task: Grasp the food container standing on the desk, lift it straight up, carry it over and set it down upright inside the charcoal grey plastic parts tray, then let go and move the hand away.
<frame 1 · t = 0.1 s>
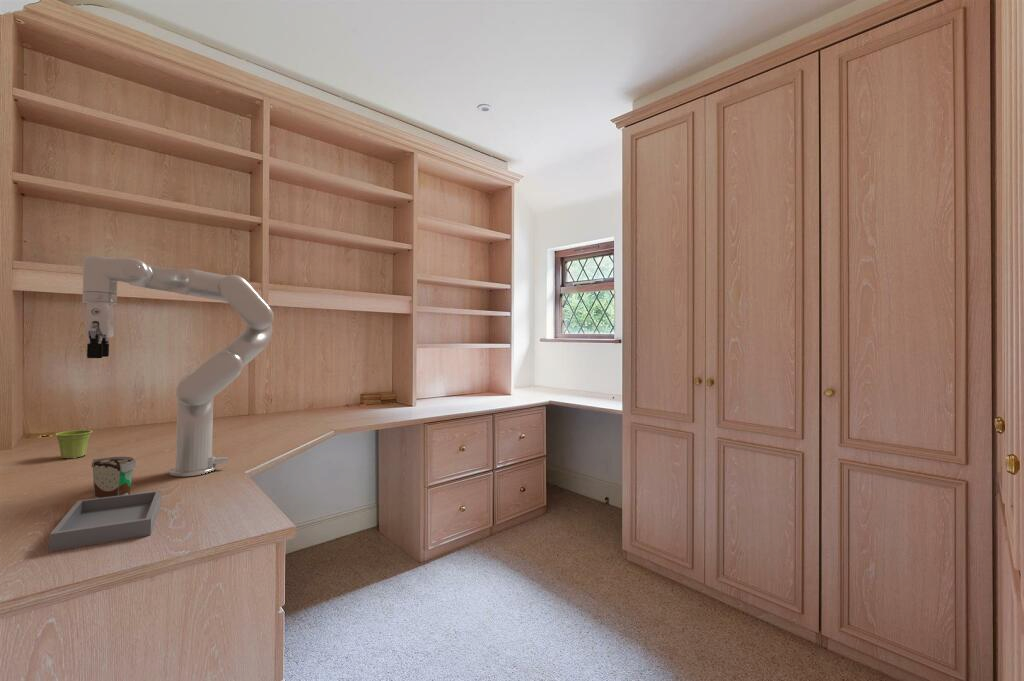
hand: (98, 357, 134), 37 cm above the table, tool pointing down, fingers open, 9 cm apart
food container: (118, 497, 124), on the table
plant pot: (73, 457, 161), on the table
parts tray: (112, 524, 105), on the table
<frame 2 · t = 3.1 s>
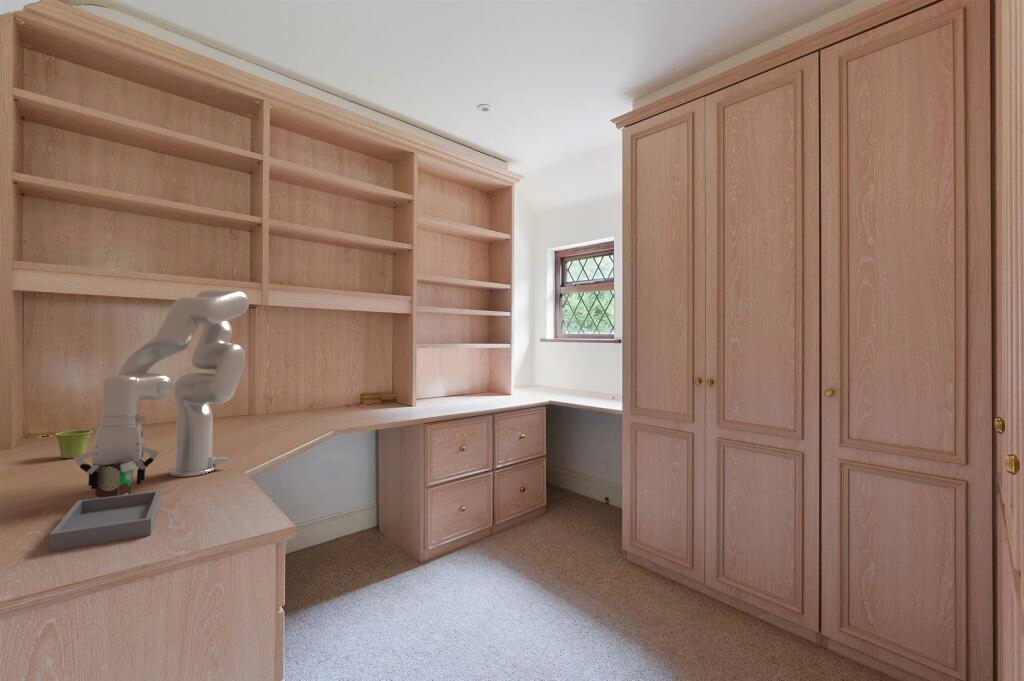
hand: (117, 485, 123), 3 cm above the table, tool pointing down, fingers open, 8 cm apart
food container: (119, 496, 124), on the table, touching gripper
everything else where it was.
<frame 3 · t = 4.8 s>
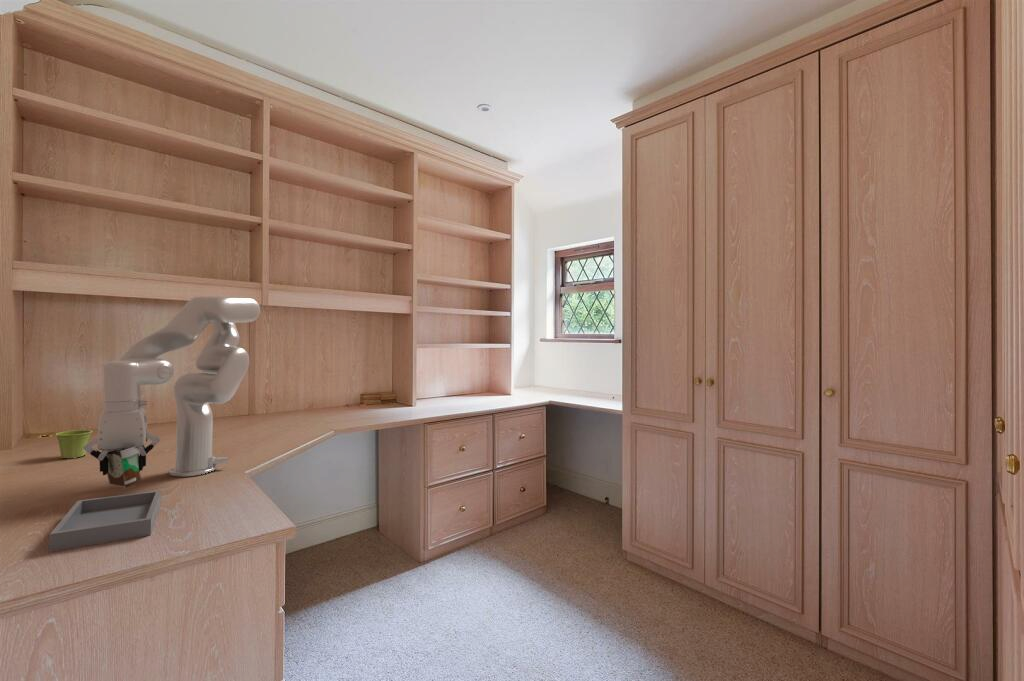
hand: (123, 470, 125), 7 cm above the table, tool pointing down, fingers closed on food container, 6 cm apart
food container: (131, 482, 126), point 3 cm above the table, touching gripper
everything else where it was.
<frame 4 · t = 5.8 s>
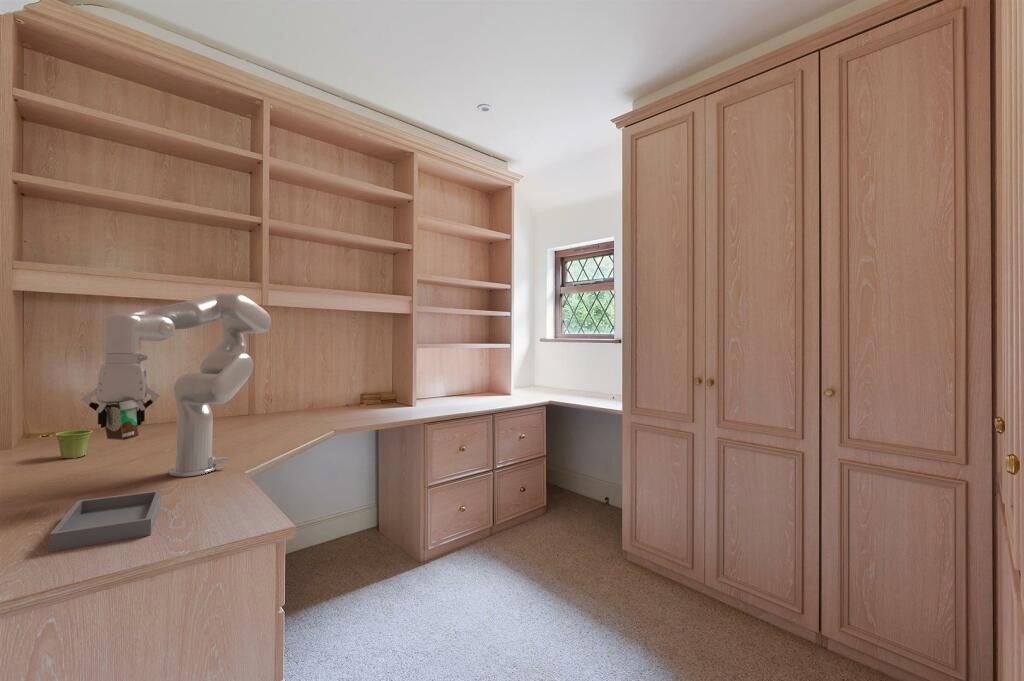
hand: (121, 425, 124), 19 cm above the table, tool pointing down, fingers closed on food container, 6 cm apart
food container: (128, 437, 125), point 16 cm above the table, touching gripper
everything else where it was.
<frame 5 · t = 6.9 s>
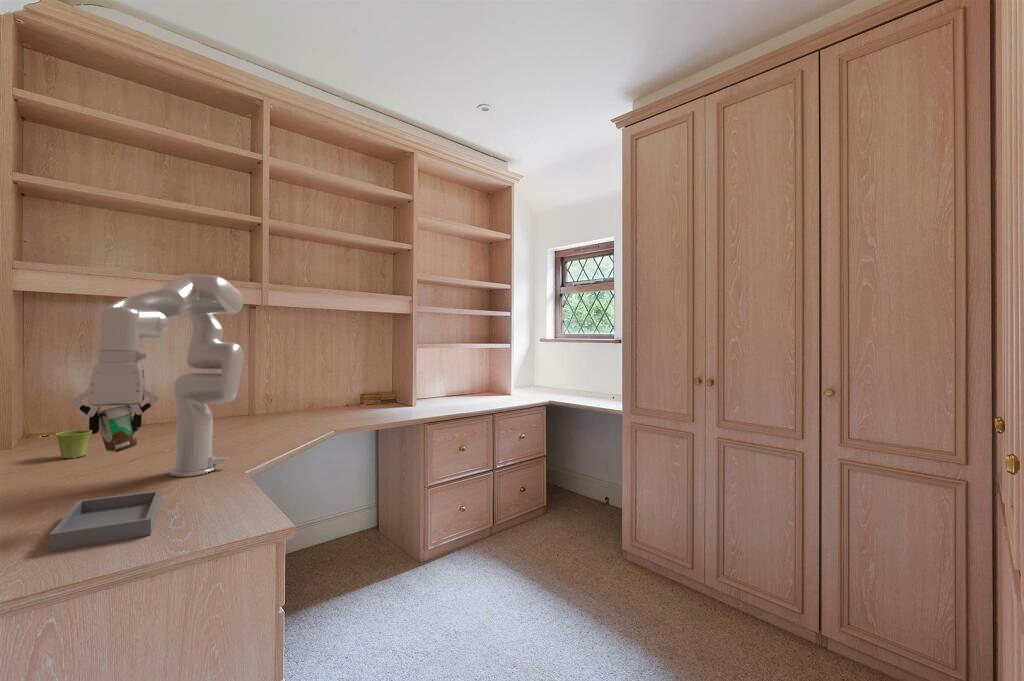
hand: (115, 431, 111), 20 cm above the table, tool pointing down, fingers closed on food container, 6 cm apart
food container: (127, 447, 113), point 16 cm above the table, touching gripper
everything else where it was.
when the fingers open (6 cm above the table, at t = 10.7 s): food container stays where it is, resting on parts tray.
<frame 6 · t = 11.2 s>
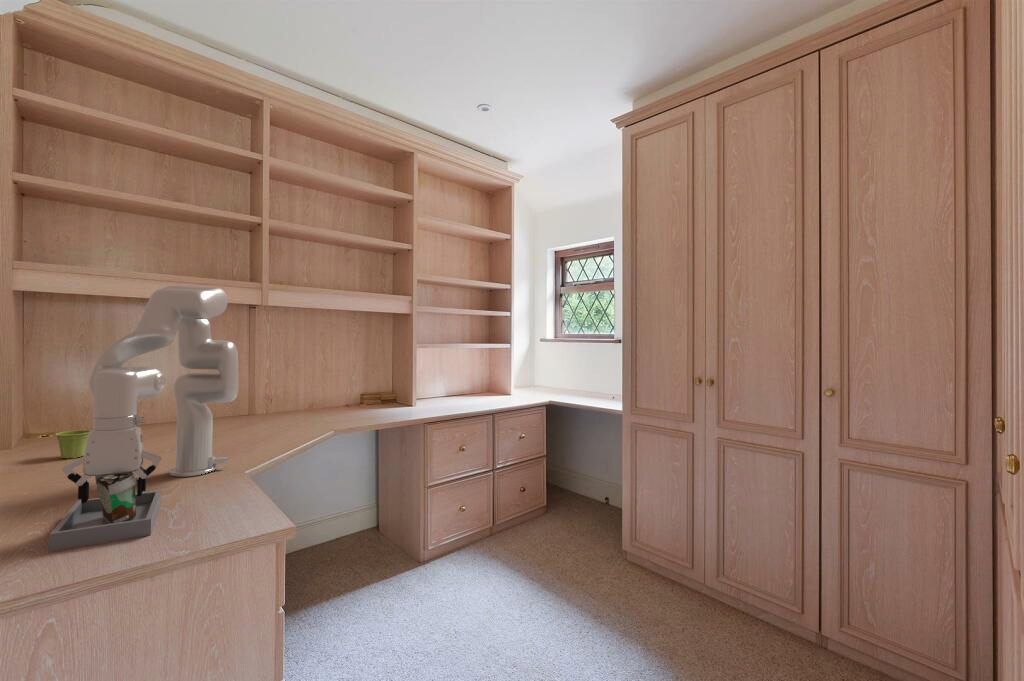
hand: (113, 498, 105), 6 cm above the table, tool pointing down, fingers open, 9 cm apart
food container: (125, 517, 107), point 1 cm above the table, touching parts tray
everything else where it was.
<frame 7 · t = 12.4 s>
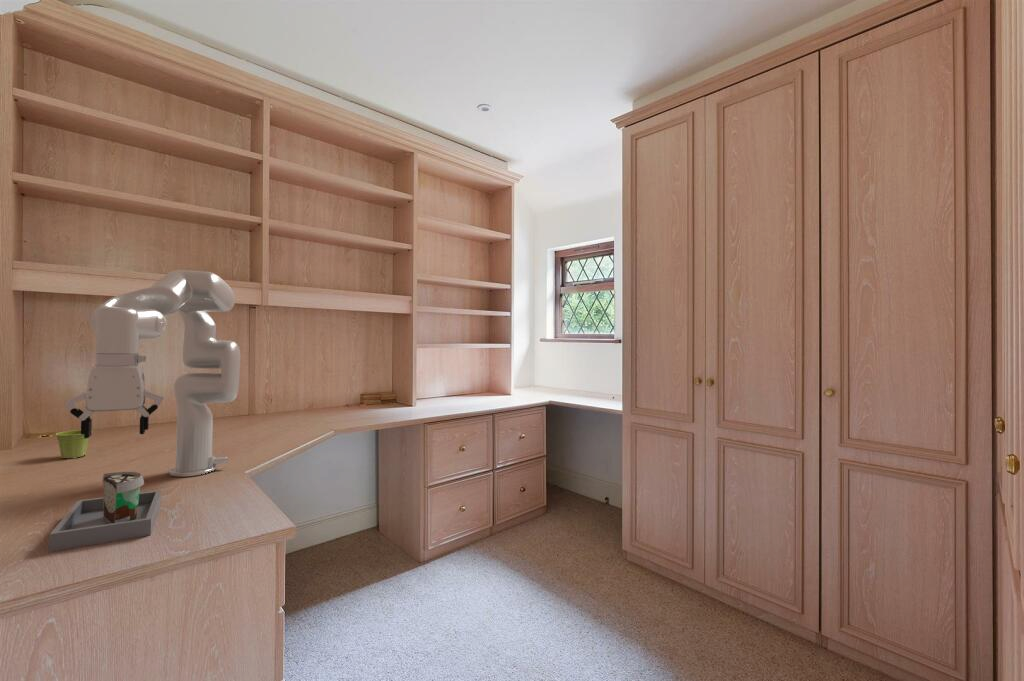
hand: (115, 435, 106), 21 cm above the table, tool pointing down, fingers open, 9 cm apart
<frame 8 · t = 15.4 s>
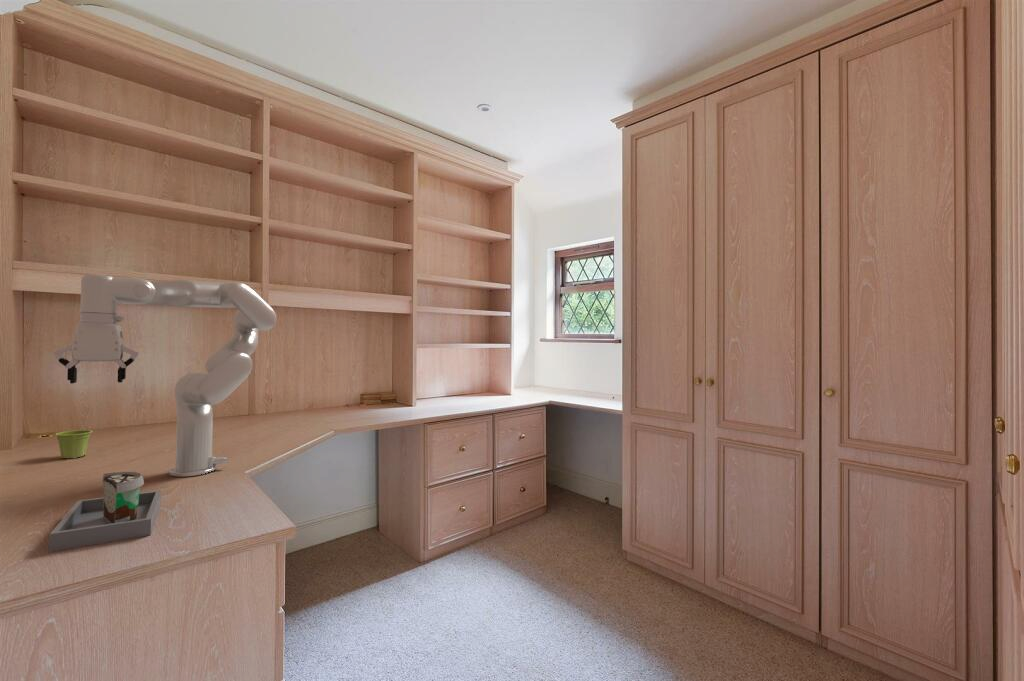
hand: (97, 382, 125), 30 cm above the table, tool pointing down, fingers open, 9 cm apart
nothing on the table moved.
at the end: food container inside the target area on the parts tray (2.4 cm from its centre), point 0.6 cm above the parts tray's base; food container tilted 0°; the gripper is holding nothing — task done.
